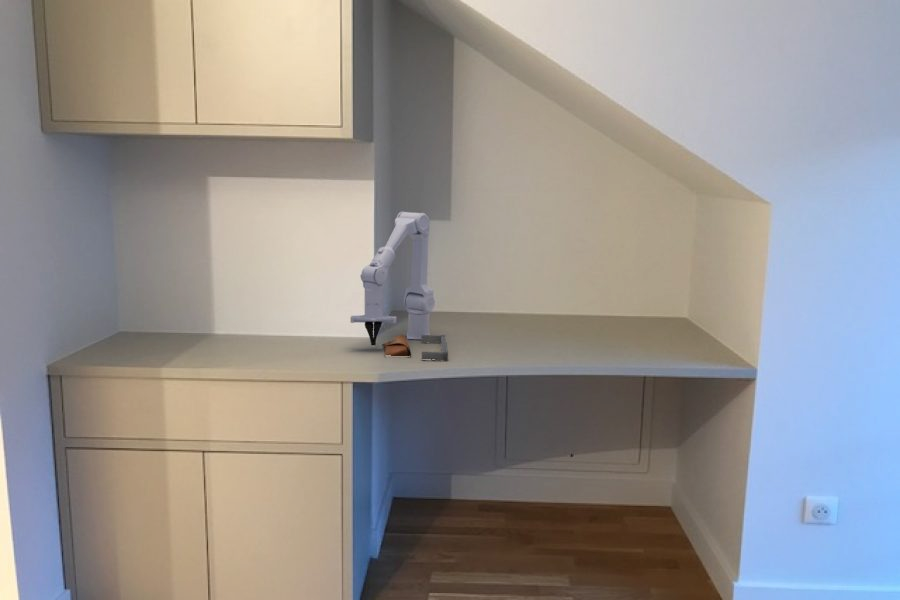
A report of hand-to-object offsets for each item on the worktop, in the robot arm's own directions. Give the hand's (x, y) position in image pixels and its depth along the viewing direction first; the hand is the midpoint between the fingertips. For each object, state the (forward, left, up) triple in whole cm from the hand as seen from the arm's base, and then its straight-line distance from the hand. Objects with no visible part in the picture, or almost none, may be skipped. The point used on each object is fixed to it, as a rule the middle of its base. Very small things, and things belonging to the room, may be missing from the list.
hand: (373, 344), depth 228 cm
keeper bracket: (0, +20, -2) cm, 20 cm away
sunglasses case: (0, +7, -3) cm, 8 cm away
